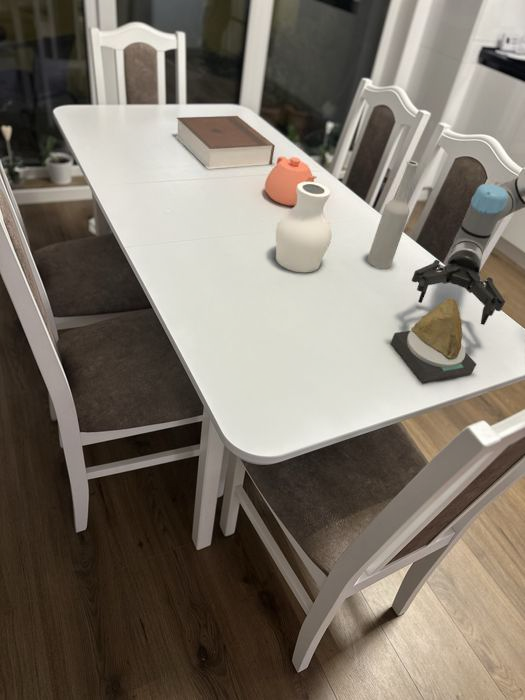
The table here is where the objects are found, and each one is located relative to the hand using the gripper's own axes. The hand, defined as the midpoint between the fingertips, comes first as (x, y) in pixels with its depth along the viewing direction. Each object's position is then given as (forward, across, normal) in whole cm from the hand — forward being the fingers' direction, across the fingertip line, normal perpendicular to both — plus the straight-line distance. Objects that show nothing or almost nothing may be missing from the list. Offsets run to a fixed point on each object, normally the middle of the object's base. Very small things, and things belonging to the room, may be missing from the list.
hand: (453, 308), depth 114 cm
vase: (-17, +39, -12) cm, 44 cm away
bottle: (-30, +20, -12) cm, 38 cm away
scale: (+4, 0, -12) cm, 12 cm away
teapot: (-50, +54, -12) cm, 75 cm away
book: (-70, +88, -12) cm, 113 cm away
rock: (+4, +1, -8) cm, 9 cm away
